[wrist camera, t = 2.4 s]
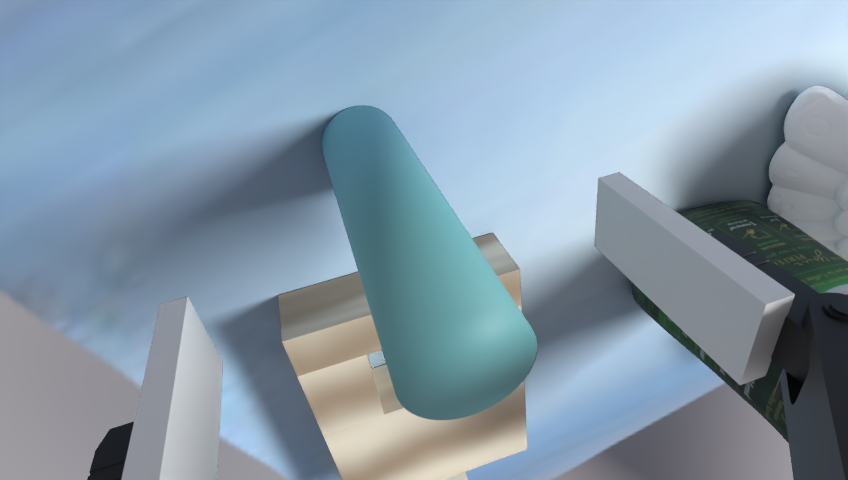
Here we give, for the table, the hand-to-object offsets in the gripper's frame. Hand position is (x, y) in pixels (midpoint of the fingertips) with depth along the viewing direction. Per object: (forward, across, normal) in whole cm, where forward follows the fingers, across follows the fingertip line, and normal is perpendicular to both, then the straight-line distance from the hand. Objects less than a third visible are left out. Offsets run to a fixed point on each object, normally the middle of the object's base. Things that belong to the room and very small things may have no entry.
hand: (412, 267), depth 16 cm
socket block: (+10, 0, -14) cm, 17 cm away
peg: (+9, 0, 0) cm, 9 cm away
